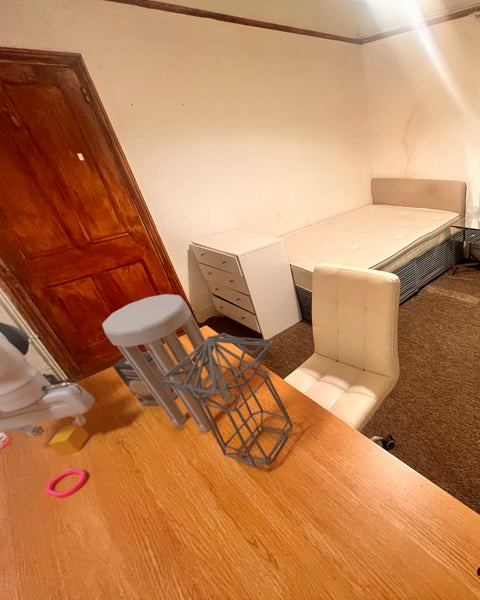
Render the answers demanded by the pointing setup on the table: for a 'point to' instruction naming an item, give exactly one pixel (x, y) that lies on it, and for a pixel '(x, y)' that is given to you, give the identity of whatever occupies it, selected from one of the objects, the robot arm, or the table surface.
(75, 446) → the yellow block
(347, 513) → the table surface
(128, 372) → the coffee box
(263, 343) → the geometric lantern
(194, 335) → the stool
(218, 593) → the table surface
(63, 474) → the fitness band
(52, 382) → the dark gray tiered ornament
